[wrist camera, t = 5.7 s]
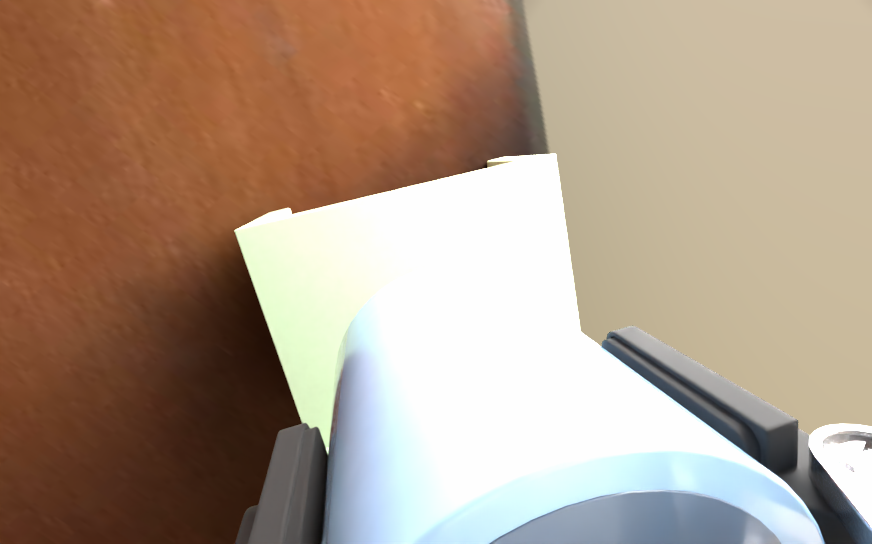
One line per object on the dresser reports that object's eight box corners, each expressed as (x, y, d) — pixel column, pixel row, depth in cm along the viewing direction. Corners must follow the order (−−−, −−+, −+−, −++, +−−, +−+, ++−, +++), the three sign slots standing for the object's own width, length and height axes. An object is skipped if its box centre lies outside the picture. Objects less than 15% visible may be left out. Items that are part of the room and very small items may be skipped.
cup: (305, 299, 11) (207, 583, 4) (534, 238, 12) (850, 368, 4) (368, 495, 13) (391, 963, 5) (565, 431, 14) (828, 761, 6)
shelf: (268, 212, 24) (218, 238, 16) (505, 156, 26) (578, 152, 17) (329, 397, 28) (314, 503, 19) (536, 338, 29) (611, 411, 20)
